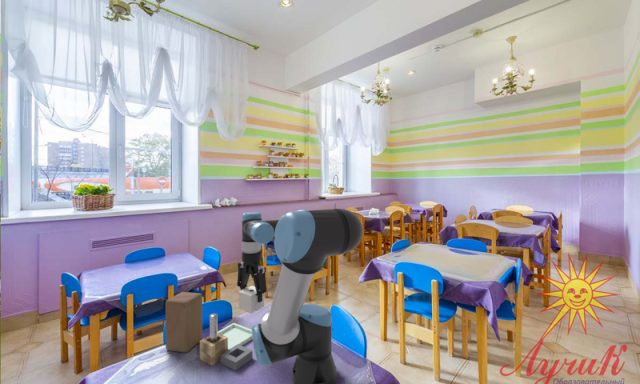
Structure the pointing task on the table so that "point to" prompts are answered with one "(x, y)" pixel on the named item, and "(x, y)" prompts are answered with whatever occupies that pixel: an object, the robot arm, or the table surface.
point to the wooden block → (183, 321)
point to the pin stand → (243, 357)
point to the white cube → (248, 299)
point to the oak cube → (213, 349)
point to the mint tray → (236, 335)
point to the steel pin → (213, 328)
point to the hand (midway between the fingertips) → (251, 306)
